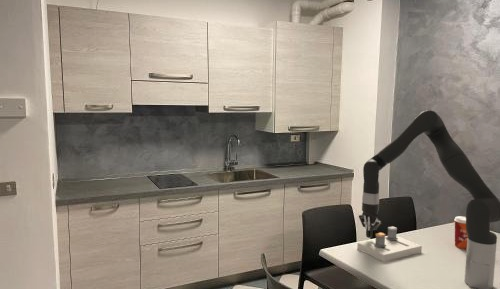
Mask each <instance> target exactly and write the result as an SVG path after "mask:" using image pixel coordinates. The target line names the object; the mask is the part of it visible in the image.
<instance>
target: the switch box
mask: <svg viewBox="0 0 500 289" xmlns="http://www.w3.org/2000/svg"><path fill="white" fill-rule="evenodd" d="M386 237H388V235H386V236H385V245H386V246H384V247H380V248H379V247H376V246H374V244H375V243H376V238H371V239H368V240H364V241H358V242H357V250H359V251H361V252H363V253H366V254H367V255H369V256H371V257H373V258H375V259H377V260H379V261H381V262H387V261H392V260H395V259H396V260H397V259H399V258H404V257H408V256H412V255H415V254H419V253H422V251H423V250H422V248H423V246H422V245H421V244H417V243H416V242H413V241H412V240H411V241H410V240H408V239H406V238H403V237H401V236H397V235H396V237H397V238H398V239H396V240H392V241H391V240H388V239H386Z"/></svg>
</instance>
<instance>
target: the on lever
mask: <svg viewBox="0 0 500 289" xmlns="http://www.w3.org/2000/svg"><path fill="white" fill-rule="evenodd" d="M397 231H398V228H397V227H395V226H393V225H392V226H388V227H387V236H388V237H387V236H385V237H386V239H388V240H391V241H392V240H396V239H398V238H397V237H396V236H397Z"/></svg>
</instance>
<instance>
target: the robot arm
mask: <svg viewBox="0 0 500 289" xmlns="http://www.w3.org/2000/svg"><path fill="white" fill-rule="evenodd" d="M423 133H424V134H425V135H426V137H427V138H428V139H429V140H430V142H431V143H432V144H433V146H434V147H435V150H436V153H437V155H438V158H439V161H440V163H441V165H442V166H443V168H444V170H445V171H446V173H447V174H448V176H449V177H450V178H452V180H454V181H455V182H456V183H457V184H459V185H460V186H462V187H463V188H464V189H465V190H467V191H468V193H469V194H470V196H471V197H472V198H473V199H471V200H469V202H468V203H467V205H466V208H465V210H466V211H465V217H466V231H467V233H468V239H467V249H466V255H465V257H466V258H465V266H464V267H465V268H464V269H465V270H464V282H465V284H467V285H468V287H469V288H474V289H493V288H494V282H495V280H494V279H495V268H496V267H495V266H496V252H497V242H498V236H497V235H496V233H494V232H492V231H491V230H490V227H491V226H490V223H491V224H492V223H495V222H500V199H498V197H497V196H496V195H495V193H493V191H492V190H491V189H490V188H489V187H488V186H487V184H486V183H485V181H484V180H483V179H482V177H481V176H480V175H479V173H478V172H477V170H476V169H475V167H474V166H473V164H472V162H471V161H470V159H469V158H468V156H467V155H466V154H465V152H464V150H462V149H461V147H460V146H459V145H458V143H456V141H455V140H454V139H453V137H451V135H450V133H449V131H448V129H447V127H446V125H445V123H444V120H443V119H442V118H441V116H440V115H439V114H438V113H437V112H436V111H434V110H431V109H428V110H423V111H421V112H420V113H419V114H418V115H417V116H416V117H415V118H414V119H413V120H412V121H411V123H409V125H408V126H407V127H406V128H404V130H403V131H402V132H401V133H400V134H399V135H398V136H397V137H395V139H394V140H392V141H391V142H390V143H389V144H387V145H385V146H384V147H383V148H382V149H381V150H380V151H379V152H378V153H377V154H375V155H373V156H372V157H370V159H368V160H367V161H366V162H365V163H364V165H363V169H362V170H363V172H362V174H363V186H362V188H363V189H362V190H363V191H362V202H361V211H362V213H361V214H359V215H358V218H359V221H360V224H361V225H362V227H363V228H365V230H366V231H365V236H366V238H368V239H373V235H374V233H373V231H376V230H378V228H379V227H380V226H381V225H382V220H380V219H378V218H379V216H378V213H379V210H380V209H379V208H380V182H379V176H380V175H379V174H380V171H382V169H384V168H385V167H386V166H387V165H389V164H391V163H393V161H395V160H396V159H397V158H399V157H401V155H403V153H405V151H406V150H407V148H409V146H410V145H411V143H413V141H414V140H415V139H416V138H418V136H420V135H423Z"/></svg>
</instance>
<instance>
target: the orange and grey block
mask: <svg viewBox="0 0 500 289" xmlns="http://www.w3.org/2000/svg"><path fill="white" fill-rule="evenodd" d="M385 237H386V233H384V232H378V233H377V232H376V233H375V239H376V243H375V244H374V246H376V247H379V248H380V247H384V246H386V245H385Z"/></svg>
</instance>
